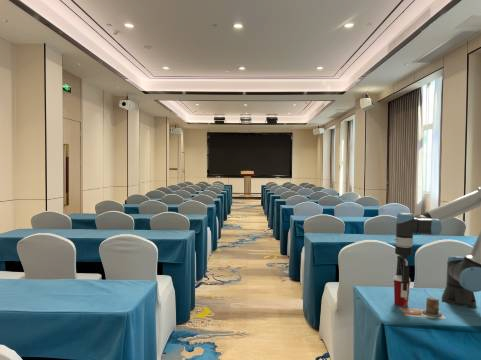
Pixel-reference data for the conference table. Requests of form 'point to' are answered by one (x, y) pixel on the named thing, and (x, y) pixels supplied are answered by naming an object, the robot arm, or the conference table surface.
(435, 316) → the grey pad
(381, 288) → the conference table surface
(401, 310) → the board
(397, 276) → the paper cup
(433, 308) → the brown short cylinder
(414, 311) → the terracotta pad
